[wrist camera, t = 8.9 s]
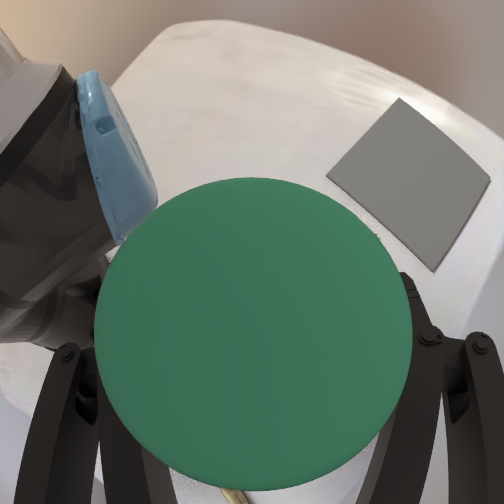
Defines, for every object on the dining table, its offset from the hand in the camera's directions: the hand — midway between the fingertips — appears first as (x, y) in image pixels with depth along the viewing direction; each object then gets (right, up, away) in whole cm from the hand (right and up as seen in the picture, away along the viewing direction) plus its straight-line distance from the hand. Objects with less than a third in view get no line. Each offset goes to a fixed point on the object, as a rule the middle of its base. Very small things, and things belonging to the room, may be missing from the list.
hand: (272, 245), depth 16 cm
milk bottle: (+1, -5, +8) cm, 9 cm away
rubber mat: (+18, +9, +18) cm, 27 cm away
